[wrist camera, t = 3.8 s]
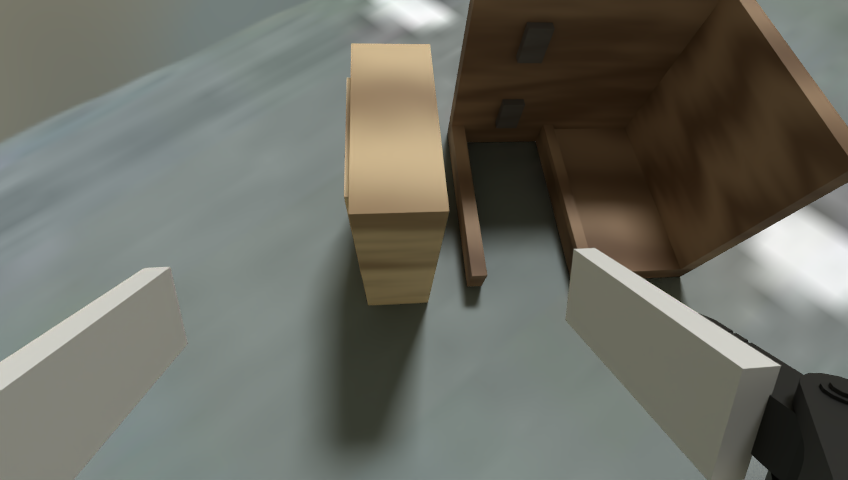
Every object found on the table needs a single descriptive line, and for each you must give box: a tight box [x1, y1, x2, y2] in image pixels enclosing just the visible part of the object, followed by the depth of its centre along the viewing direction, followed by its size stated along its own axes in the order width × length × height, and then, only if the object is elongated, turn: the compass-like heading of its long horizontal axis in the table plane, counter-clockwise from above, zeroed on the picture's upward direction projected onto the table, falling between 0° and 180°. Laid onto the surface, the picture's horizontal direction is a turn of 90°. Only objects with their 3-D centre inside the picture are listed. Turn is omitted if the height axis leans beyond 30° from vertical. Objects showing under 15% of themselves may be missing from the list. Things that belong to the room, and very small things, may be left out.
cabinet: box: [447, 0, 848, 287], centre depth 25 cm, size 14×16×13 cm
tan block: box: [344, 44, 449, 306], centre depth 23 cm, size 10×4×12 cm, turn 4°
